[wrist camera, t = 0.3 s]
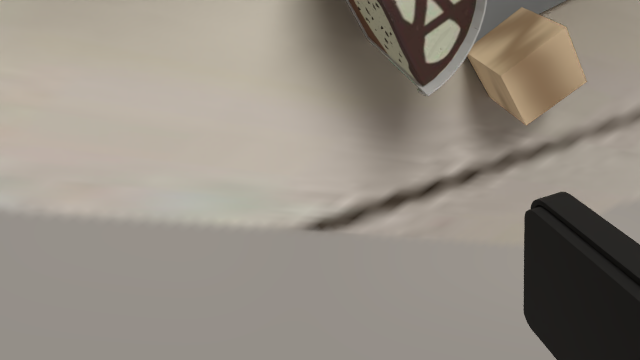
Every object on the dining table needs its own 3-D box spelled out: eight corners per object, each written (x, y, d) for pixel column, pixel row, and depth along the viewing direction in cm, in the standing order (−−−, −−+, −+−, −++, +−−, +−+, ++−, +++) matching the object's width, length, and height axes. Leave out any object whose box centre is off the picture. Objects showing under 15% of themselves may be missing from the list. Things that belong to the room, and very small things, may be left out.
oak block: (521, 7, 36) (566, 26, 32) (543, 57, 39) (586, 81, 35) (464, 51, 37) (500, 75, 33) (490, 97, 40) (526, 125, 36)
